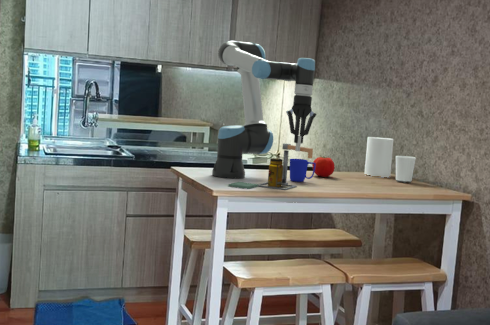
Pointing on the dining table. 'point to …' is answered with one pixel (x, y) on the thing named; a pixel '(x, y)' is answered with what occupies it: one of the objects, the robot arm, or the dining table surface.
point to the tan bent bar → (303, 149)
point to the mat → (243, 185)
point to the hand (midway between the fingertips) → (297, 151)
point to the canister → (379, 156)
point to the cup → (404, 168)
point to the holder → (276, 187)
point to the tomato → (323, 166)
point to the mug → (299, 169)
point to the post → (285, 167)
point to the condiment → (275, 173)
